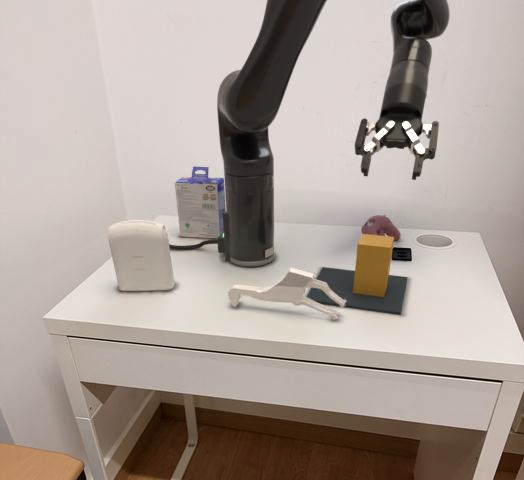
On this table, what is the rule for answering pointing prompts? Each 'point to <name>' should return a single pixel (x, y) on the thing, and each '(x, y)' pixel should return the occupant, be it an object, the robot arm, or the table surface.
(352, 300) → the mat
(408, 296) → the table surface
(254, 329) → the table surface
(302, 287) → the llama figurine
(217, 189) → the ink cartridge box
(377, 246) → the block
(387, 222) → the video game controller
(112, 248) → the photo printer
